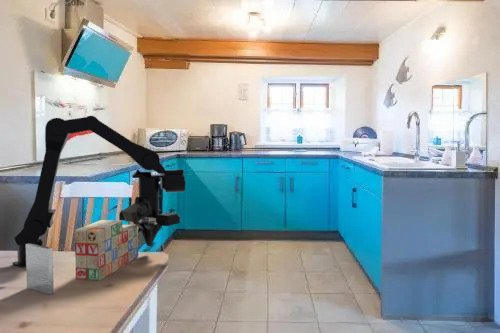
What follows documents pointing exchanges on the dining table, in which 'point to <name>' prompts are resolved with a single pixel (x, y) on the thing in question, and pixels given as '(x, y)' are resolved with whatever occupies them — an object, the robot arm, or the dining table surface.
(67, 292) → the dining table surface
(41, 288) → the bookend
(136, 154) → the robot arm
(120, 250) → the stack of blocks
